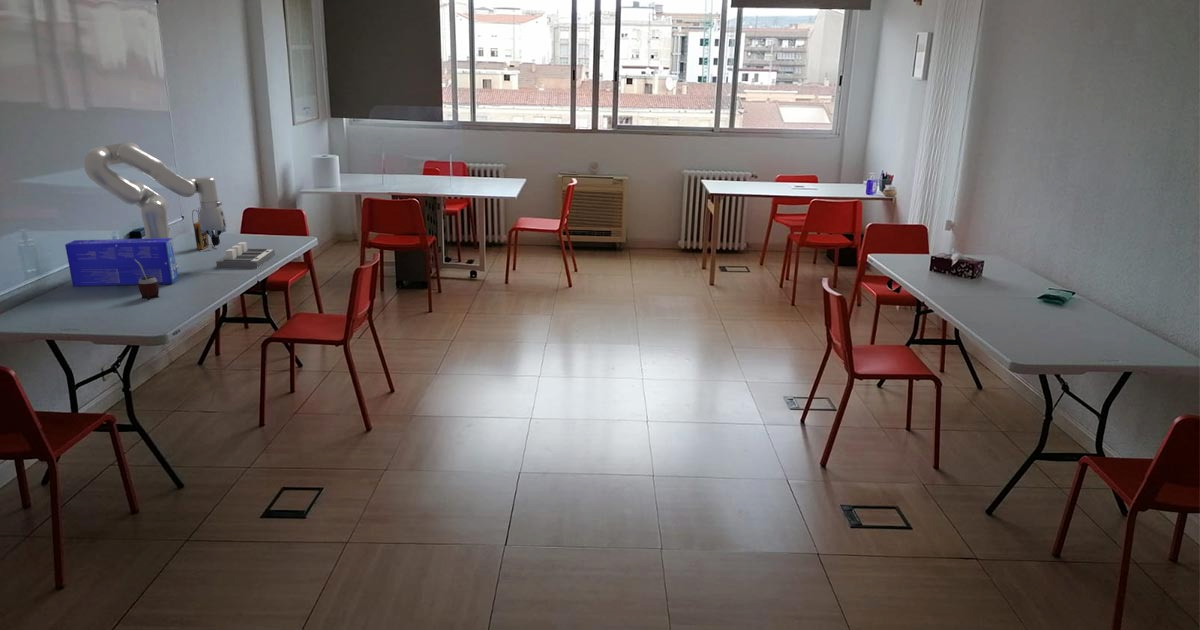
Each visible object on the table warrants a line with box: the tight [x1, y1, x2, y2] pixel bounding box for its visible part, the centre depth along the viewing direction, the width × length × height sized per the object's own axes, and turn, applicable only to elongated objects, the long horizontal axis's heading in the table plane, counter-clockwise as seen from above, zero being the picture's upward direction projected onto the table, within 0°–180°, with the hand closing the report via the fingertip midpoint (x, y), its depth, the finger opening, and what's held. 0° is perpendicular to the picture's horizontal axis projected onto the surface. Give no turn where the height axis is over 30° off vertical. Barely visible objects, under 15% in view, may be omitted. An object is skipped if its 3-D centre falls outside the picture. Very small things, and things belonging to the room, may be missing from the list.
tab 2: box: [236, 241, 249, 252], centre depth 385 cm, size 4×3×4 cm
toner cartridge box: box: [64, 237, 179, 288], centre depth 340 cm, size 39×8×18 cm, turn 99°
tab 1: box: [225, 248, 236, 259], centre depth 372 cm, size 4×3×4 cm
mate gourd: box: [135, 259, 160, 301], centre depth 321 cm, size 8×8×15 cm
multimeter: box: [191, 209, 218, 252], centre depth 401 cm, size 15×10×20 cm
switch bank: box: [215, 248, 276, 269], centre depth 380 cm, size 24×18×4 cm
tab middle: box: [230, 244, 242, 255], centre depth 379 cm, size 4×3×4 cm
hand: (216, 244), depth 371 cm, fingers closed
